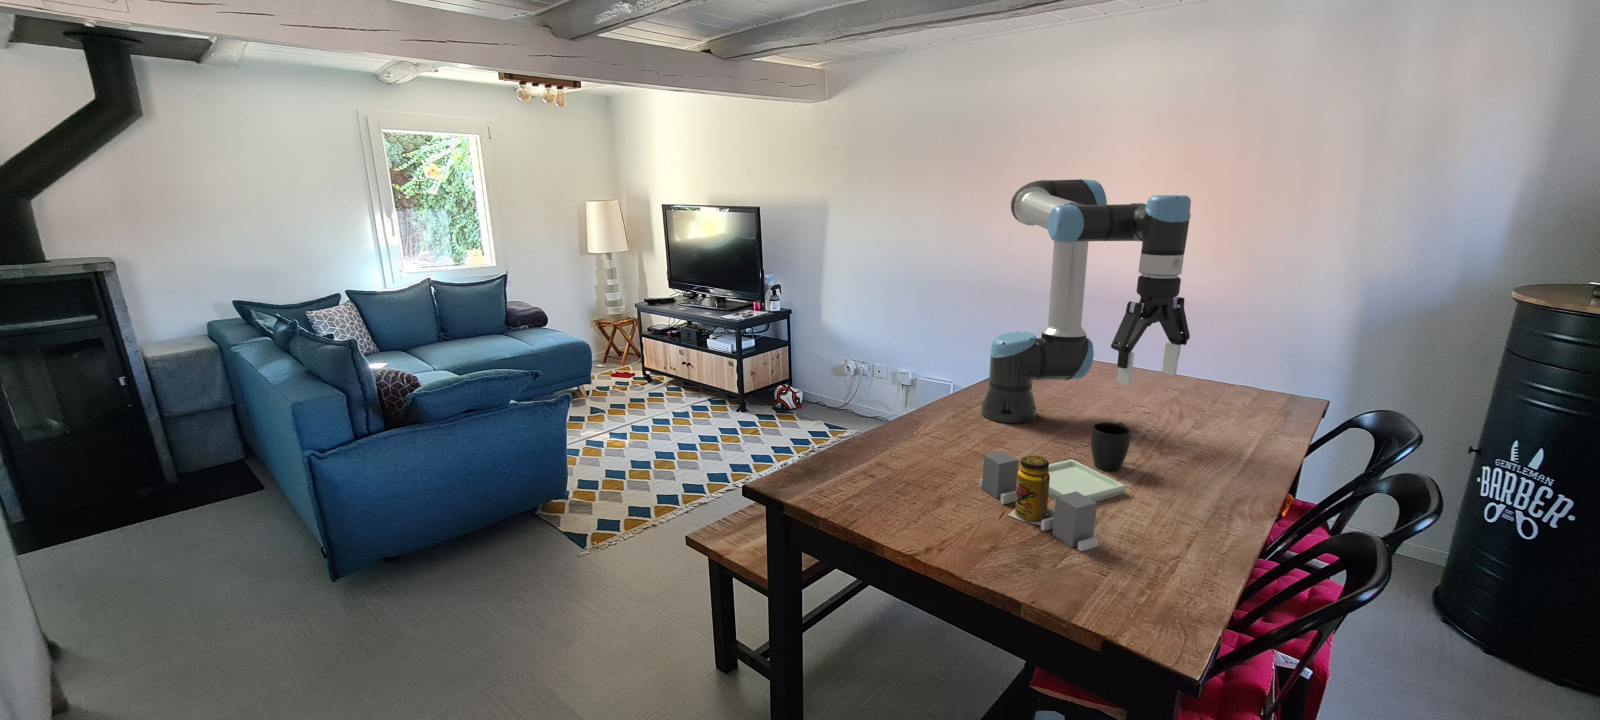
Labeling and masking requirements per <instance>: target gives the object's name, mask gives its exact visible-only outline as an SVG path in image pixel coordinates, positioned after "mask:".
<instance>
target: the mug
mask: <svg viewBox="0 0 1600 720" xmlns="http://www.w3.org/2000/svg"><path fill="white" fill-rule="evenodd" d="M1131 438H1132V430H1131V429H1130V428H1129V427H1128V426H1126V425H1125V424H1124V423H1123V422H1121V421H1120V422H1117V423H1114V422H1096V423H1094V424H1093V425H1092V426H1091V435H1090V450H1091V455H1092V461H1093V465H1094V467H1095V468H1096V469H1099V470H1101V471H1104V472H1105V471H1106V472H1118V471H1120V470H1121V467H1122V466H1123V464H1124V461H1125V459H1126V457H1127V454H1128V451H1129V449H1130V445H1131Z"/></svg>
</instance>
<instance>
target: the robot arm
mask: <svg viewBox="0 0 1600 720" xmlns="http://www.w3.org/2000/svg"><path fill="white" fill-rule="evenodd" d="M1107 203H1108V201H1107V195H1106V192H1105V189H1104V187H1103V186H1102V184H1101V183H1100V182H1099V181H1097V180H1094V179H1082V178H1079V179H1053V180H1051V179H1050V180H1049V179H1047V180H1046V179H1041V180H1036V181H1035V180H1034V181H1031V182H1028V183H1027V184H1025V185H1022V186H1021V187H1020V188H1019V189H1018V190H1017V191H1016V192H1015V193H1014V194H1013V196H1012V198H1011V202H1010V210H1011V214H1012V216H1013V218H1014V219H1015V220H1017V222H1019V223H1021V224H1024V225H1026V226H1038V227H1041V228H1043V229H1045V230H1047V232H1048V234H1049V238H1050V240H1052V241H1053V250H1052V251H1053V252H1052V264H1051V265H1052V266H1051V278H1050V293H1049V304H1048V305H1049V308H1048V320H1047V321H1048V322H1047V326H1046V327H1044V328H1043V329H1042V330H1041V334H1040V335H1041V337H1039V338H1037V336H1036V335H1035V334H1034V333H1031V332H1028V331H1024V332H1022V331H1013V332H1008V333H1007V332H1006V333H1002V334H999V335H997V336H996V337H995V338H993V340H992V342H991V347H990V353H989V356H990V362H989V376H988V377H989V379H988V388H987V391H986V393H985V396H984V399H983V401H982V403H981V405H980V415H982V416H983V417H984V418H986V419H989V420H990V421H991V420H992V421H994V422H999V423H1006V424H1007V423H1008V424H1024V423H1030V422H1032V421H1034V420H1036V418H1037V406H1036V403H1035V399H1034V395H1033V391H1032V389H1033V381H1035V380H1037V381H1038V380H1039V381H1040V380H1041V381H1043V380H1045V381H1050V380H1053V381H1055V380H1056V381H1058V380H1060V381H1062V380H1064V381H1071V380H1080V379H1082V378H1085V376H1086V375H1087V374H1089V372H1090V369H1091V368H1092V364H1093V361H1094V356H1095V354H1094V353H1095V352H1094V351H1095V350H1094V344H1093V342H1092V340H1091V339H1090V338H1088V337H1087V332H1086V331H1085V329H1083V328H1082V321H1083V312H1084V311H1083V309H1084V297H1085V287H1086V276H1087V275H1086V274H1087V263H1088V262H1087V261H1088V254H1089V253H1088V251H1089V242H1142V244H1141V251H1140V256H1139V258H1140V259H1139V264H1138V265H1139V266H1138V273H1139V274H1141V275H1139V276H1138V277H1137V285H1136V293H1137V295H1139V296H1140V299H1139V301H1138V302H1136V301H1135V302H1134V301H1130V300H1129V301H1128V302H1127V304H1126V310H1125V313H1124V316H1123V317H1122V320H1121V322H1120V324H1119V326H1118V329H1117V331H1116V332H1115V336H1114V338H1113V340H1112V342H1111V345H1110V348H1111V349H1113V350H1114V351H1117V352H1118V356H1117V363H1116V365H1117V371H1116V373H1117V375H1116V382H1117V383H1120V384H1124V385H1127V386H1129V385H1131V384H1132V374H1133V365H1134V359H1135V352H1132V351H1133V349H1134V348H1135V347H1136V345H1137V343H1138V342H1139V341H1140V339H1141V337H1142V336H1143V334H1144V333H1145V332H1146V329H1147V328H1148V327H1150V326H1152V324H1156V323H1158V322H1159V323H1160V325H1161V327H1162V330H1163V331H1164V333H1165V335H1166V337H1167V339H1168V341H1169V342H1168V341H1167V342H1165V347H1164V353H1163V361H1162V369H1161V373H1162V374H1166V375H1170V376H1172V377H1175V376H1177V371H1178V364H1179V357H1180V354H1181V353H1180V352H1181V345H1183V346H1186V345H1187V344H1188V341H1189V340H1190V338H1191V336H1190V330H1189V326H1188V320H1187V317H1186V316H1187V315H1186V312H1185V297H1182V296H1181V297H1180V296H1179V294H1180V289H1181V281H1182V279H1181V277H1180V275H1181V274H1182V273H1183V264H1184V256H1185V252H1186V244H1187V238H1188V232H1189V224H1190V219H1191V206H1192V199H1191V197H1189V196H1188V195H1183V194H1180V195H1177V194H1165V195H1164V194H1163V195H1162V194H1160V195H1159V194H1158V195H1157V194H1156V195H1151V196H1150V197H1148V199H1147V203H1143V202H1139V203H1137V202H1136V203H1129V204H1127V203H1126V204H1124V203H1123V204H1119V203H1118V204H1107Z"/></svg>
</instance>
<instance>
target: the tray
mask: <svg viewBox="0 0 1600 720" xmlns="http://www.w3.org/2000/svg"><path fill="white" fill-rule="evenodd" d="M1048 469H1049V471H1048V473H1049V475H1050V482H1049V493H1048V497H1050V498H1052V499H1054V500H1056V496H1060V495H1064V494H1068V493H1072V492H1076V491H1077V492H1078V493H1080V494H1082V495H1084V496H1086V497H1088V498H1089V499H1091V500H1093V501H1095V502H1098V501H1102V500H1103V501H1104V500H1107V499H1110V498H1114V497H1118V496H1122V495H1125V492H1126V484H1124V483H1121V482H1119V481H1117V480H1115V479H1113V478H1112V477H1109V476H1107V475H1105V474H1104V473H1101V472H1099V471H1097V470H1095V469H1092V468H1090V467H1089V466H1087V465H1084V464H1082V463H1081V462H1078V461H1077V460H1075V459H1072V458H1071V459H1067V460H1063V461H1058V462H1054V463H1049V467H1048Z"/></svg>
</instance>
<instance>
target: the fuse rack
mask: <svg viewBox="0 0 1600 720" xmlns="http://www.w3.org/2000/svg"><path fill="white" fill-rule="evenodd" d="M982 465H983V466H982V467H983V468H982V478H979V480H978V481H979V483H978V486H979V487H980V488H981V490H983V491H984V492H986V493H987V494H989V495H991V496H992V497H993V498H995V499H997V500H998V499H1000V504H1001V505H1006V504H1011V503H1014V502H1015V503H1016V492H1017V479H1018V478H1017V477H1018V471H1019V470H1018V469H1019V458H1018V459H1017V458H1016V457H1014V456H1013V455H1010V454H1009V453H1007V452H1004V451H1002V450H1001V451H999V452H998V451H997V452H994V453H988V454H984V455H983V464H982ZM1097 507H1098V501H1096V502H1095V501H1093V500H1091V499H1089V498H1088V497H1086V496H1084V495H1082V494H1080V493H1078V492H1077V491H1076V492H1072V493H1068V494H1064V495H1060V496H1056V499H1055V501H1054V509H1055V511H1054V515H1053V516H1052V517H1050V518H1047V519H1043V520H1042V521H1041V526H1040V530H1042V531H1043V532H1046V531H1049V530H1052V531H1051V532H1052V534H1051V535H1052V536H1053V537H1055V538H1057V539H1058V540H1059V541H1061V542H1063V543H1064V544H1066V545H1068V546H1069V548H1071V549H1072V548H1075V547H1076V548H1077V550H1078V551H1080V552H1082V551H1083V552H1084V551H1087V550H1089V549H1093V548H1097V547H1098V545H1099V538H1098V537H1096V536H1095V535H1094V534H1095V525H1096V516H1097Z"/></svg>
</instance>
